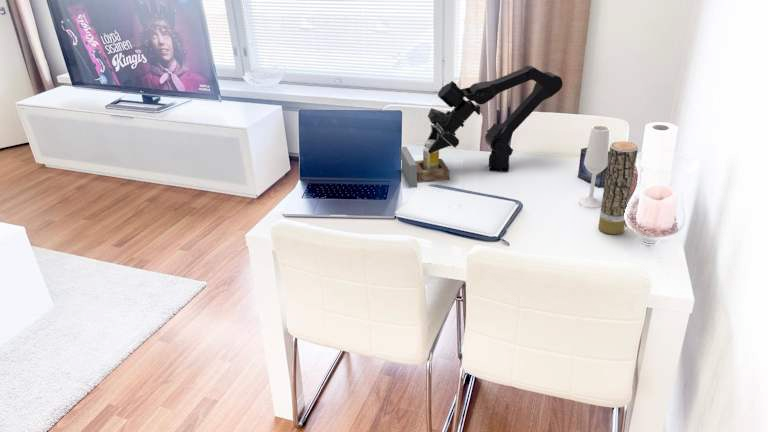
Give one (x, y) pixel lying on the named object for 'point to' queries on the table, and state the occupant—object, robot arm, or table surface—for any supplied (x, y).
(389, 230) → the table surface
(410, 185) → the grey backstop board
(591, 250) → the table surface
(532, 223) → the table surface
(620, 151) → the bark print cylinder
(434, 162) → the supplement bottle
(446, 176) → the walnut socket block
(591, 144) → the champagne flute
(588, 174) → the small box
